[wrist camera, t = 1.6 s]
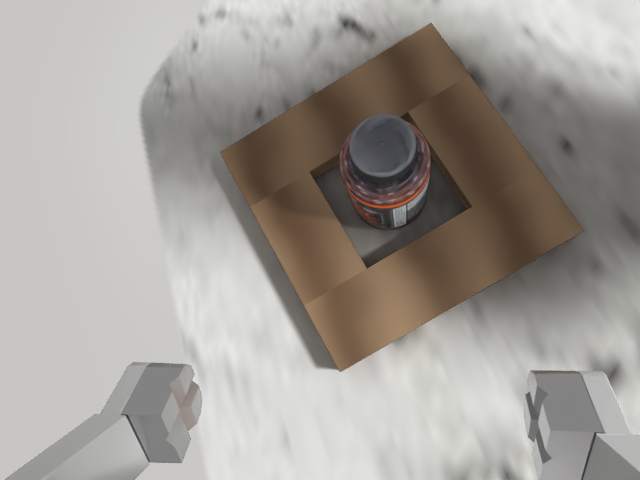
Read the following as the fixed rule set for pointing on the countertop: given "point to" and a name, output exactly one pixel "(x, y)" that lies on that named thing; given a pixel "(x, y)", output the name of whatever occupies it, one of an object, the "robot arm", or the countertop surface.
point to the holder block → (432, 248)
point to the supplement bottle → (386, 171)
